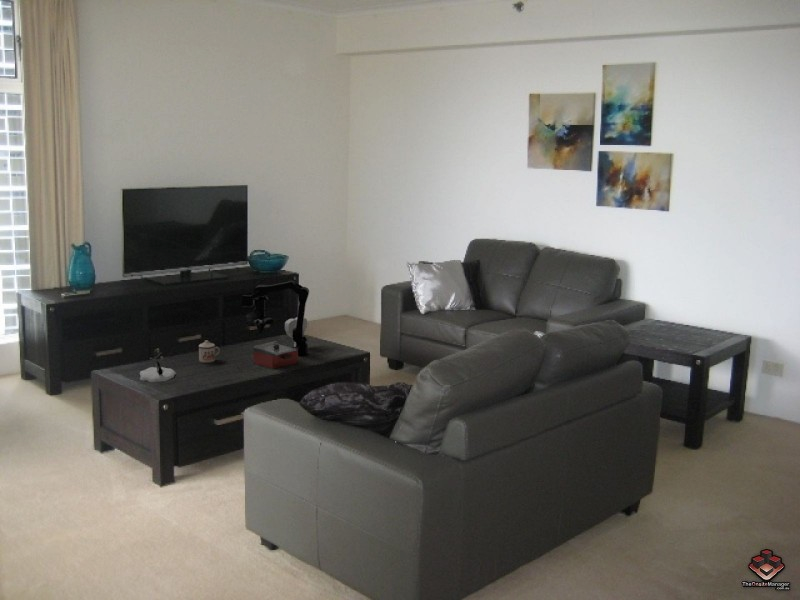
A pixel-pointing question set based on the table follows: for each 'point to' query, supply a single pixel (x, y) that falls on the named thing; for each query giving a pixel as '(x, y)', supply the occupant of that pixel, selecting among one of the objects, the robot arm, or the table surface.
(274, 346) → the lid
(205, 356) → the teacup with lid
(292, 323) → the heart sculpture
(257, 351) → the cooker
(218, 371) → the table surface
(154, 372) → the figurine
